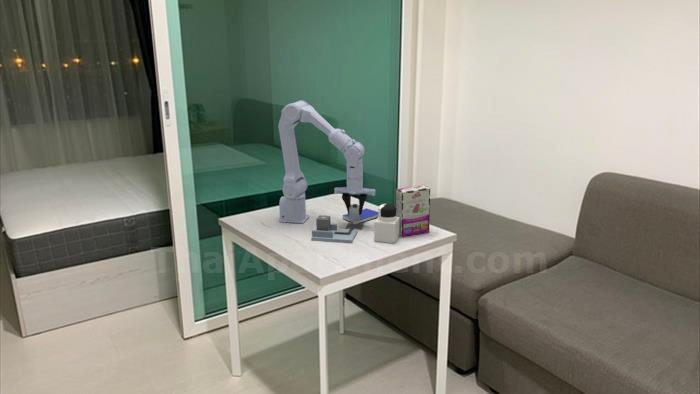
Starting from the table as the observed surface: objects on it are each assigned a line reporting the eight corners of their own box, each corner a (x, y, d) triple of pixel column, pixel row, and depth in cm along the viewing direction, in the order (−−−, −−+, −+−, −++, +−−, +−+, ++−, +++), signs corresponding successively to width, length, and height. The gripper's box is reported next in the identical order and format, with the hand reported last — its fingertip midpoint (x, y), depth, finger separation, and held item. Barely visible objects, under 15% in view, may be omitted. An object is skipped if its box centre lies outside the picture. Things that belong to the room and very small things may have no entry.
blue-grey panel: (311, 240, 180) (311, 232, 179) (320, 227, 192) (320, 219, 191) (351, 243, 177) (351, 234, 176) (358, 229, 189) (358, 221, 188)
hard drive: (357, 219, 193) (381, 212, 202) (342, 214, 199) (365, 207, 207) (357, 223, 194) (381, 216, 202) (342, 218, 200) (365, 211, 208)
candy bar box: (422, 228, 190) (423, 184, 185) (429, 232, 186) (431, 188, 181) (394, 232, 186) (395, 188, 181) (401, 237, 182) (402, 192, 177)
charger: (316, 234, 183) (316, 219, 181) (319, 230, 186) (319, 215, 185) (328, 234, 182) (327, 219, 180) (330, 230, 186) (330, 215, 184)
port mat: (345, 228, 190) (345, 227, 190) (348, 222, 196) (348, 222, 196) (361, 229, 189) (361, 228, 189) (364, 223, 195) (364, 223, 195)
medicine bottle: (399, 236, 183) (400, 203, 179) (394, 243, 177) (395, 209, 173) (379, 233, 185) (380, 201, 182) (373, 241, 179) (374, 207, 175)
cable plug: (351, 217, 194) (351, 202, 192) (360, 217, 193) (360, 203, 191) (349, 220, 191) (349, 205, 189) (358, 221, 190) (358, 206, 188)
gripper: (332, 179, 185) (332, 216, 189) (373, 181, 182) (373, 218, 186) (336, 174, 191) (337, 209, 195) (376, 175, 189) (376, 211, 193)
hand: (354, 213), depth 191 cm, fingers closed on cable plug, 3 cm apart
